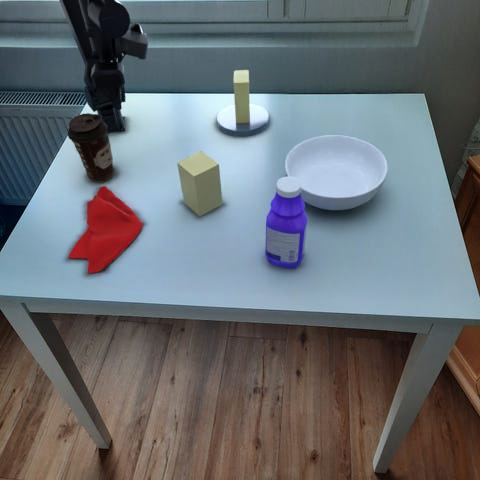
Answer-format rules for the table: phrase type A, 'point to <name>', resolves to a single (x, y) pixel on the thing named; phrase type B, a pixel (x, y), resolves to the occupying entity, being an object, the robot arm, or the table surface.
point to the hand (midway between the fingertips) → (119, 98)
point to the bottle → (286, 225)
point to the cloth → (106, 230)
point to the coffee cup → (92, 146)
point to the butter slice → (242, 96)
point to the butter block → (200, 183)
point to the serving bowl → (337, 171)
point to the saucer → (256, 125)
